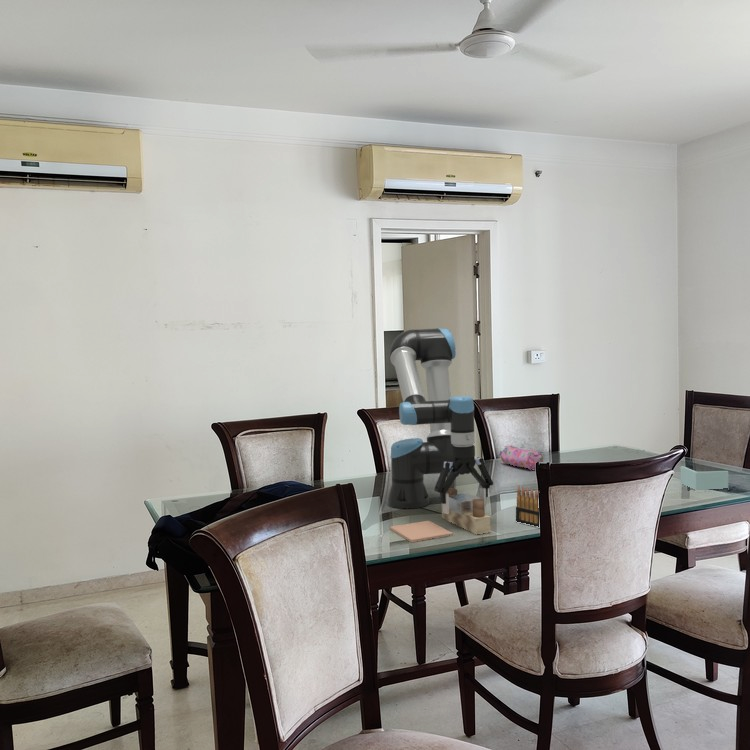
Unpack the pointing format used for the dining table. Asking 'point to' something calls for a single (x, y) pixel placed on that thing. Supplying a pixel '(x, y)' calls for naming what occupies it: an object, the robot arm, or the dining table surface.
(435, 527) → the mat
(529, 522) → the ammunition clip
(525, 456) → the pencil case
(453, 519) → the wooden peg stand
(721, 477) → the l-shaped corner panel
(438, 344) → the robot arm
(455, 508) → the brushed metal block
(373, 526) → the dining table surface
